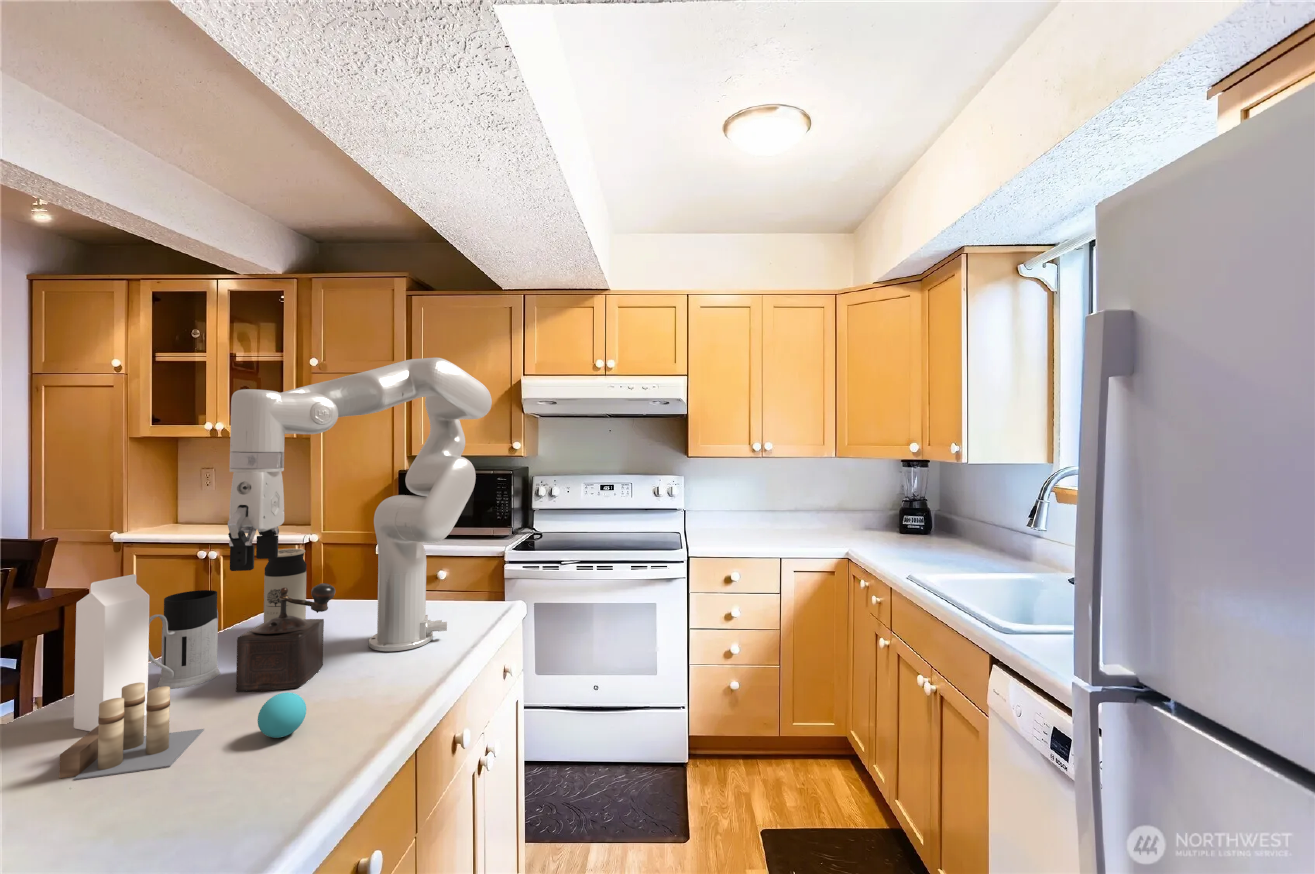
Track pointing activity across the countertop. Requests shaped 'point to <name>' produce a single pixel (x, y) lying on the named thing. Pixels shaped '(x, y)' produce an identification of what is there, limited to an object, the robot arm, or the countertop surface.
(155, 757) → the pin deck mark
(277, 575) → the travel mug
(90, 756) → the back wall
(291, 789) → the countertop surface
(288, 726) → the ball
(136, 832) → the countertop surface
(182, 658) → the glass holder
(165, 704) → the front pin
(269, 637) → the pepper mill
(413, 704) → the countertop surface
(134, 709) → the rear pin
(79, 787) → the countertop surface
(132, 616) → the milk
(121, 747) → the rear pin
